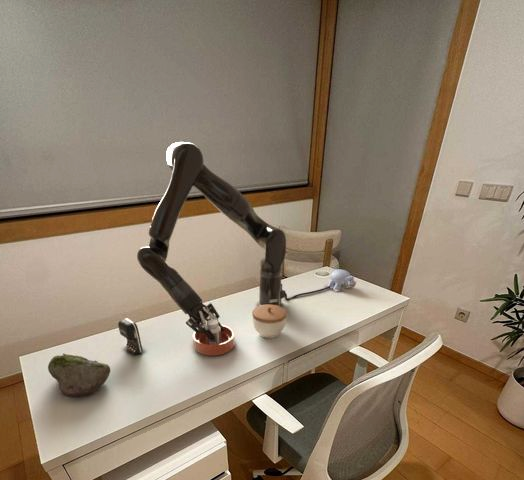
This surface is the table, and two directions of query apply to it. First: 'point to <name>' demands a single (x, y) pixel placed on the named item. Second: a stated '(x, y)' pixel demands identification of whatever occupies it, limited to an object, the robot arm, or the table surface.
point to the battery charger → (131, 335)
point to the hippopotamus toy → (341, 279)
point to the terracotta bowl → (217, 349)
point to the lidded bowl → (269, 320)
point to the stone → (78, 374)
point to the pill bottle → (214, 332)
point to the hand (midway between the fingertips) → (218, 335)
